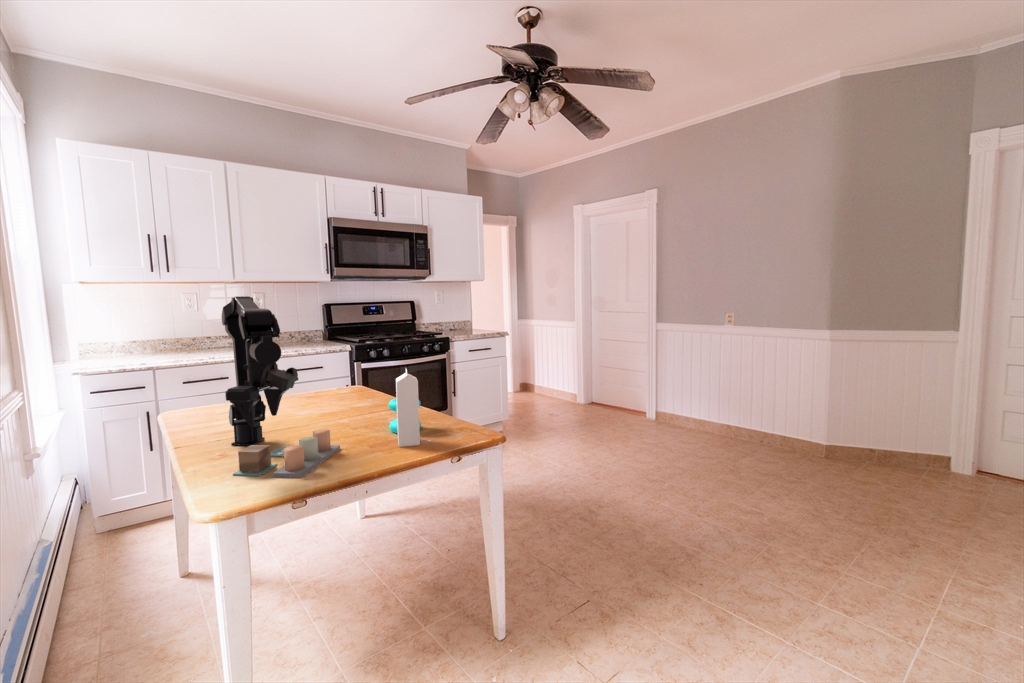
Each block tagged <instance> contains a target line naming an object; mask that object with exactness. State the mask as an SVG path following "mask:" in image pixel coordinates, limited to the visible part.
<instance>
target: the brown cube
mask: <svg viewBox="0 0 1024 683" xmlns="http://www.w3.org/2000/svg"><path fill="white" fill-rule="evenodd" d="M270 452H271V445H270V444H267V445H266V444H254V445H250V446H246V447H244V448H242V449H241V450H238V453H237V454H238V468H239V469H238V471H239V470H240V472H260V471H261V470H263V469H265V468H266V467H268V466H269V465H271V464H272V457H271V453H270Z"/></svg>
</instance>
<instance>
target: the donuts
mask: <svg viewBox="0 0 1024 683" xmlns="http://www.w3.org/2000/svg"><path fill="white" fill-rule="evenodd" d="M421 404H422V403H421V400H420V399H419V408H420V407H421ZM388 408H389V410H391V411H392V412H395V413H397V402H396V398H393V399H391V400H390V401H389V402H388ZM421 427H422V423H421V421H420V420H419V430H420V429H421ZM388 428H389V430H390V431H391V432H392V433H394V434H398V431H397V418H395V419H393V420H392V421H390V423H389V427H388Z"/></svg>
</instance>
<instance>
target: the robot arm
mask: <svg viewBox="0 0 1024 683" xmlns="http://www.w3.org/2000/svg"><path fill="white" fill-rule="evenodd" d="M221 324H222V326H224V330H225V333H226V334H227V335H228V336H229V337H230V339H231V340H232V345H233V346H232V347H233V348H232V349H233V360H234V370H235V371H234V372H235V382H236V386H233V387H230V388H228V389H227V390H226V391H225V392H224V393H225V401H227V402H229V403H230V405H229V410H228V422H229V424H230V426H231V427H233V434H234V436H233V437H234V442H231V444H230V445H231V446H246V447H248V446H250V445H257V443H259V442H261V441H264V440H265V436H263V426H262V425H261V422H265V420H266V410H267V408H266V407H267V406H268V409H269V412H270V414H271V416H272V417H274V416H277V414H278V410H279V407H280V403H281V401H282V398H283V395H284V394H285V393H286V392H287V391H288V390H290V389H293V388H294V385H295V383H296V382H297V381H299V376H298V375H299V374H298V369H297V368H295V367H289V368H287V369H286V370H285V369H279V366H278V364H277V362H278V361H279V360H280V359H281V356H282V349H281V347H280V345H279V344H278V343H277V342H274V339H273V338H279V337H280V334H281V328H280V326H279V322H278V319H277V318H276V316H275V314H274V313H273V312H272V311H271V310H270V309H268V308H260V307H259V306H258V305H257V303H256V302H255V301H254V298H253V297H251V296H248V295H247V296H246V295H245V296H234V297H231V301H230V302H228V303H227V304H225V305H224V306H223V307H222V311H221ZM260 392H263V393H264V396H265V399H266V402H267V406H266V404H265V403H264V401H263V400H262V395H261V394H260Z"/></svg>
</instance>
